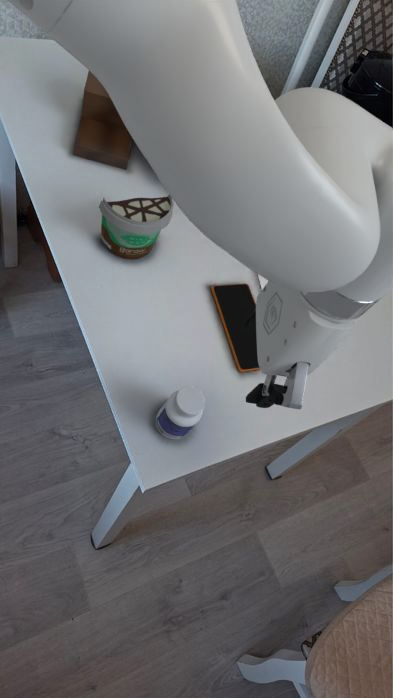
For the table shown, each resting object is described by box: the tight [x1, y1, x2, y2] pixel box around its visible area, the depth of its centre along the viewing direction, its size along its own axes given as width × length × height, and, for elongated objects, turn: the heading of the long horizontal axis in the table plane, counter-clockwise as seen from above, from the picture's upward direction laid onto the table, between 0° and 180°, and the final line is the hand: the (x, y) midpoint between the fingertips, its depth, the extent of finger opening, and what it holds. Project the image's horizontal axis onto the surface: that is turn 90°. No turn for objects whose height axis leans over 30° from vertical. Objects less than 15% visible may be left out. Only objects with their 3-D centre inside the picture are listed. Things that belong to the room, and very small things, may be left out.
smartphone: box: [210, 283, 261, 373], centre depth 81 cm, size 8×17×1 cm, turn 17°
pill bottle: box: [155, 385, 206, 440], centre depth 66 cm, size 5×5×9 cm
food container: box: [98, 193, 174, 260], centre depth 78 cm, size 12×6×10 cm, turn 114°
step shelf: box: [72, 70, 133, 171], centre depth 90 cm, size 10×16×8 cm, turn 178°
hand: (256, 363), depth 56 cm, fingers open, 9 cm apart
